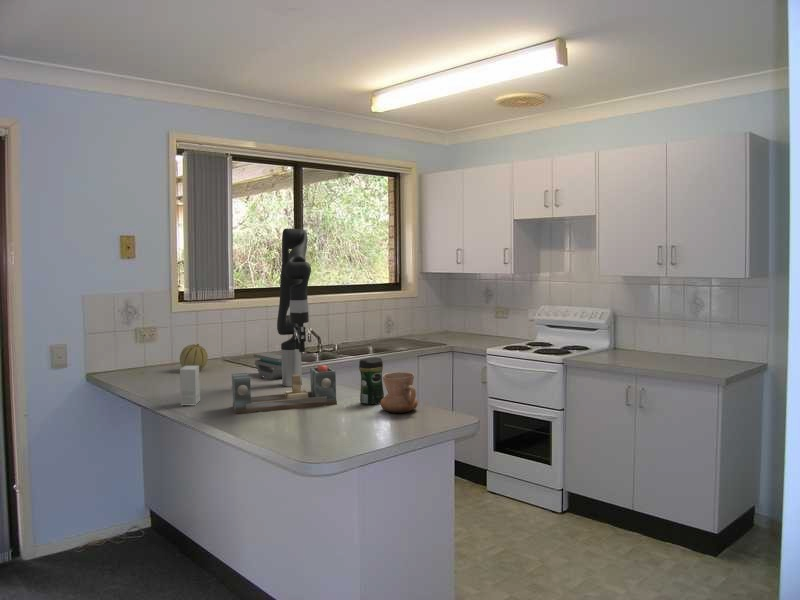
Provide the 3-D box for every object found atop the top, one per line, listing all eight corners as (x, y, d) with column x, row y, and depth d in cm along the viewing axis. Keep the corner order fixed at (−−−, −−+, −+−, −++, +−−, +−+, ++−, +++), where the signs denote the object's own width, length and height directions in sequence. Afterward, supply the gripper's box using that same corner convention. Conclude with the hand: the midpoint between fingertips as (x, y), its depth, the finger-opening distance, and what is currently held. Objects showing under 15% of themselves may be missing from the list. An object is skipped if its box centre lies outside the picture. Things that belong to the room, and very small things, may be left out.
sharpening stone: (254, 374, 332) (253, 354, 331) (267, 372, 337) (267, 352, 337) (278, 381, 313) (278, 359, 313) (292, 378, 318) (292, 357, 318)
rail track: (232, 406, 259) (231, 373, 259) (329, 397, 272) (328, 366, 272) (235, 414, 246) (234, 379, 245) (336, 404, 259) (336, 371, 258)
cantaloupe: (183, 369, 353) (182, 342, 352) (210, 368, 355) (209, 341, 354) (177, 374, 339) (175, 346, 338) (205, 373, 340) (204, 345, 339)
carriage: (285, 398, 263) (284, 374, 263) (304, 396, 266) (303, 372, 265) (288, 402, 256) (287, 377, 255) (308, 400, 258) (307, 376, 258)
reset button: (317, 375, 265) (316, 365, 265) (326, 374, 266) (326, 364, 266) (319, 376, 261) (318, 367, 261) (328, 376, 263) (328, 366, 262)
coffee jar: (375, 399, 267) (374, 355, 266) (387, 402, 261) (386, 357, 260) (356, 403, 261) (355, 358, 260) (367, 406, 255) (366, 360, 254)
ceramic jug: (371, 409, 249) (370, 373, 248) (401, 403, 258) (400, 369, 256) (398, 419, 235) (397, 381, 233) (429, 412, 243) (428, 375, 242)
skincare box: (185, 402, 269) (183, 365, 268) (201, 401, 270) (199, 365, 269) (180, 406, 261) (178, 369, 260) (196, 406, 262) (195, 368, 261)
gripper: (287, 310, 265) (288, 348, 266) (292, 312, 251) (293, 353, 252) (305, 309, 267) (306, 347, 268) (311, 311, 254) (312, 352, 255)
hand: (300, 350), depth 260 cm, fingers open, 8 cm apart
